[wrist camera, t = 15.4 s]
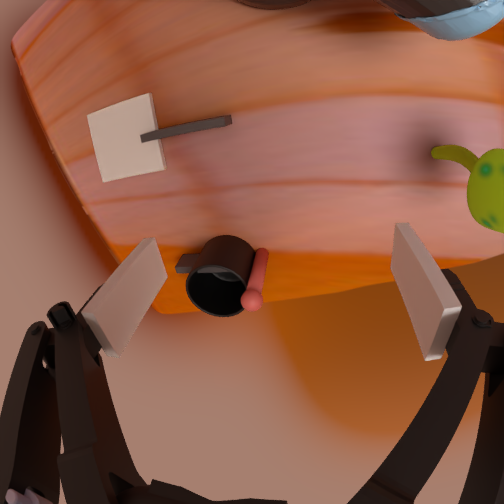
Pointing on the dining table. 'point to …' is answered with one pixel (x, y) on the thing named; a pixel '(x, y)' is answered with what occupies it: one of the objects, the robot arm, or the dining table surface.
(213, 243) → the mug
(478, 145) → the dining table surface
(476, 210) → the mushroom
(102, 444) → the robot arm
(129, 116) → the plate
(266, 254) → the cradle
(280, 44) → the dining table surface
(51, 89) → the dining table surface
